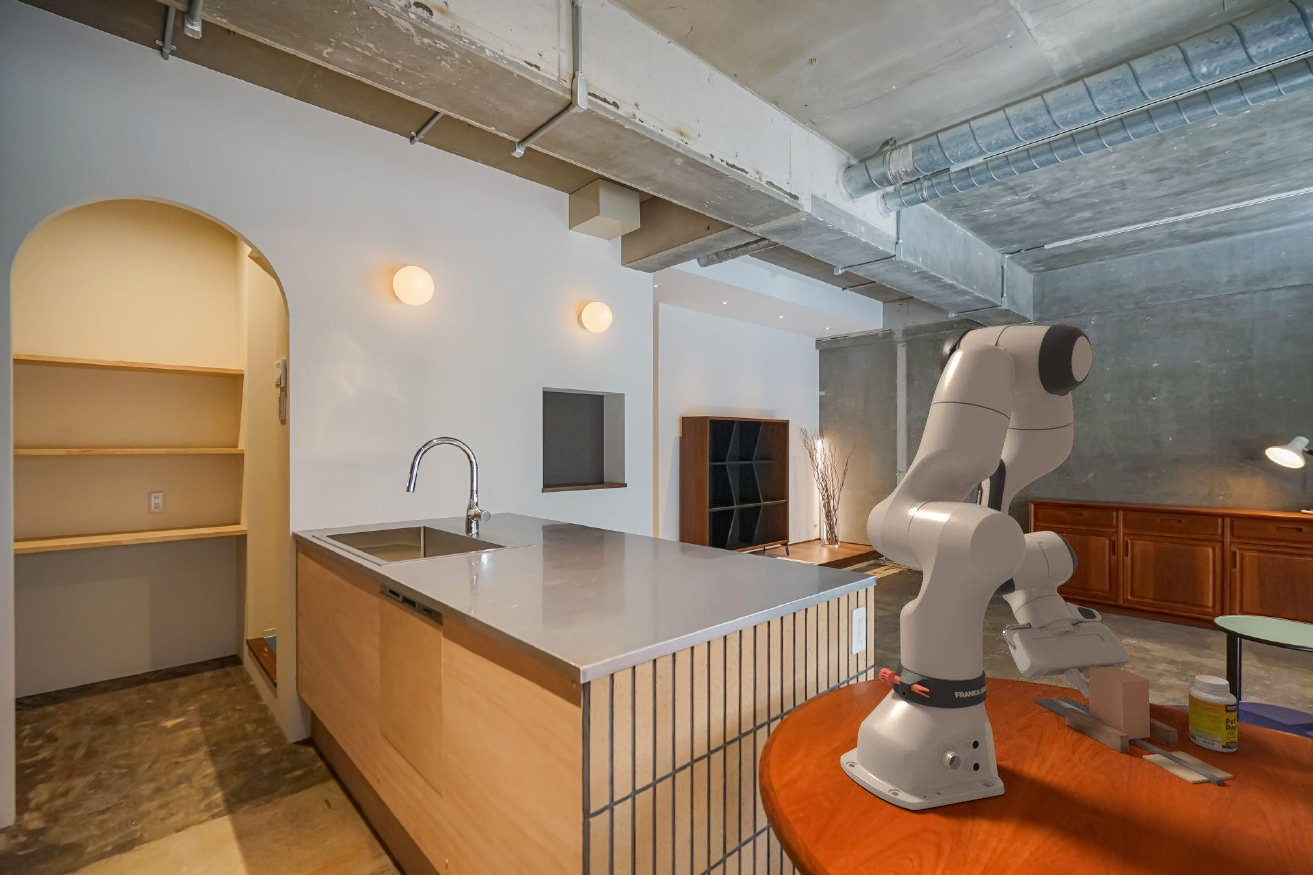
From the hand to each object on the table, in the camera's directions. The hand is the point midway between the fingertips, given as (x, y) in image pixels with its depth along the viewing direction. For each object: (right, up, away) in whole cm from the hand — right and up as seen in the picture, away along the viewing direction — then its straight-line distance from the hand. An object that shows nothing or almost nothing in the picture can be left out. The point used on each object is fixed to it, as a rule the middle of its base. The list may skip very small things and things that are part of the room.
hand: (1096, 696), depth 102 cm
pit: (-1, -5, +6) cm, 8 cm away
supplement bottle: (+13, -4, -8) cm, 15 cm away
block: (+1, -4, -4) cm, 6 cm away
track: (+1, -4, -4) cm, 6 cm away
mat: (+3, -4, -14) cm, 15 cm away
